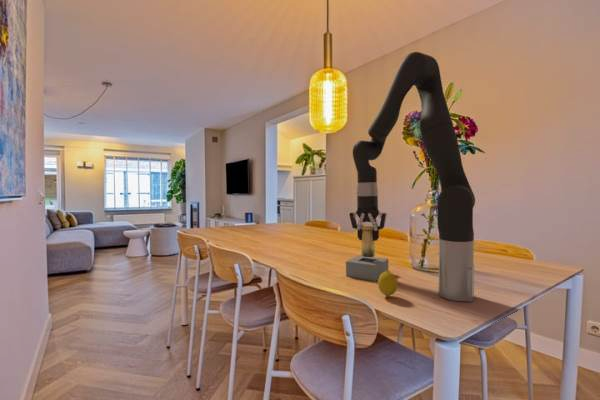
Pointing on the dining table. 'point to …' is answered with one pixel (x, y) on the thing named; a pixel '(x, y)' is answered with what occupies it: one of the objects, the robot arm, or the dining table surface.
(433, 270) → the dining table surface
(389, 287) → the lemon
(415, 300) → the dining table surface
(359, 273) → the block
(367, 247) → the glass jar
